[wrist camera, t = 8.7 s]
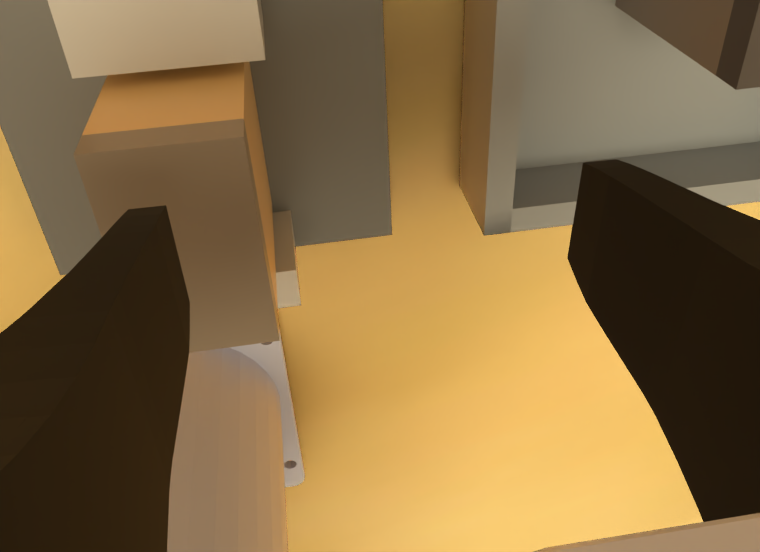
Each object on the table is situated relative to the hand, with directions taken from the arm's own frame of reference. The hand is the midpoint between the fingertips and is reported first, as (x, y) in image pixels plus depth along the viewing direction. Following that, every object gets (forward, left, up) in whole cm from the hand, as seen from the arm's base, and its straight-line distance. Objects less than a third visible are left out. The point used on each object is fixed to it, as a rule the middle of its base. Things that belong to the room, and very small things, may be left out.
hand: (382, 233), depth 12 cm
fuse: (-1, +4, -8) cm, 9 cm away
